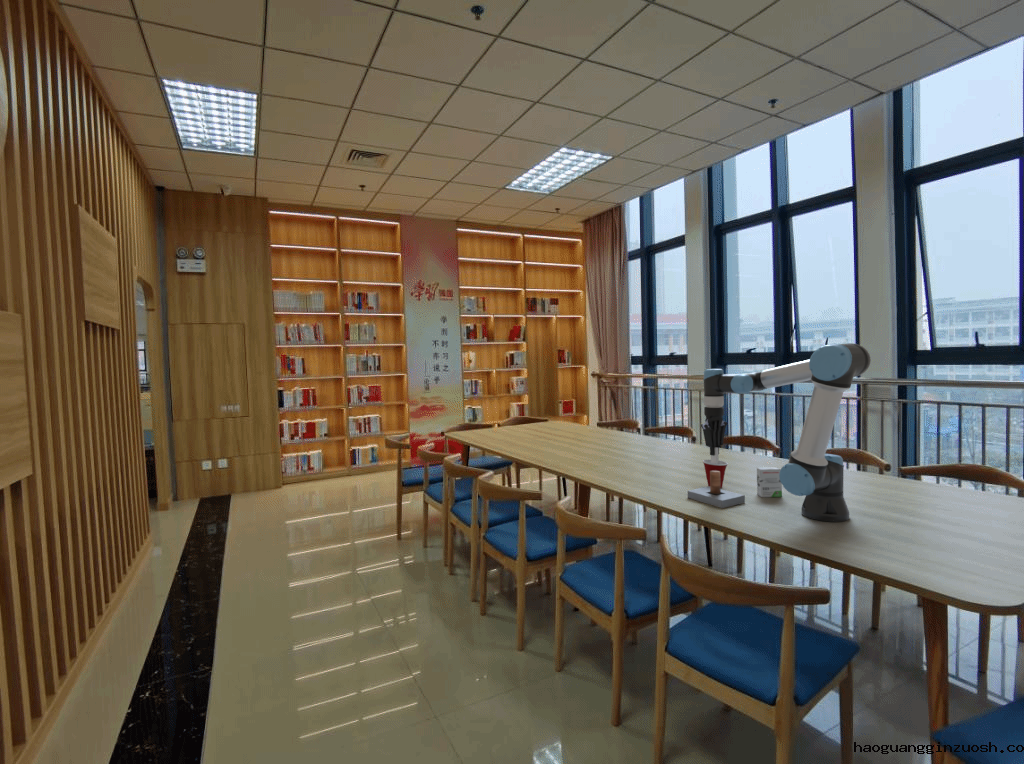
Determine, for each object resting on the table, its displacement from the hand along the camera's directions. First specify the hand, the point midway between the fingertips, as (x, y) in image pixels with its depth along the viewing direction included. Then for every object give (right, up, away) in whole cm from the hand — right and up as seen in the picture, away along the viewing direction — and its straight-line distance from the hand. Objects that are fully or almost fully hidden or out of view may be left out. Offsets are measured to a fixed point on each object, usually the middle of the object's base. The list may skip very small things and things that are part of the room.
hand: (714, 462), depth 216 cm
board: (+1, -16, +1) cm, 16 cm away
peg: (+1, -16, +1) cm, 16 cm away
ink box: (+25, -15, +4) cm, 29 cm away
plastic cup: (+8, -15, +20) cm, 27 cm away
